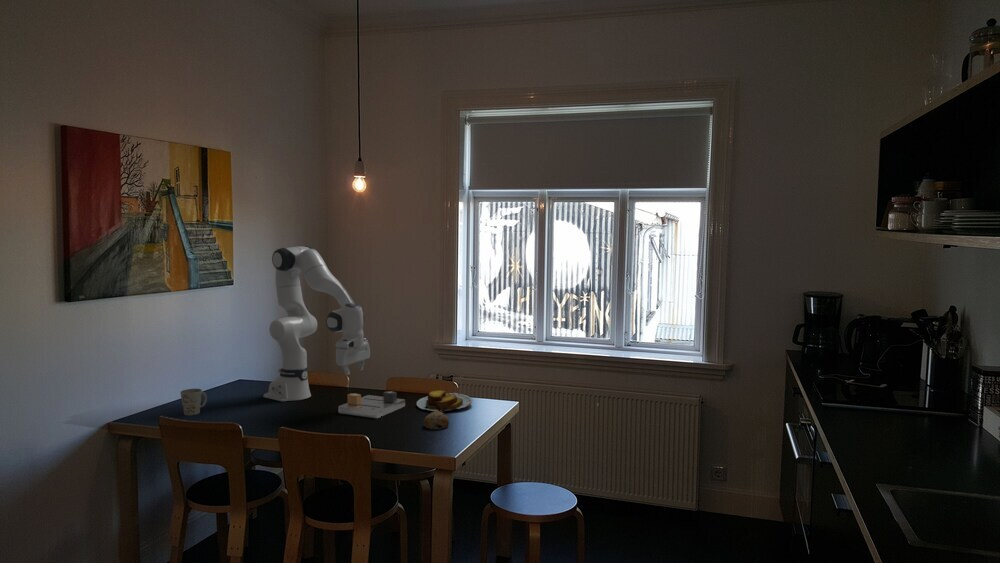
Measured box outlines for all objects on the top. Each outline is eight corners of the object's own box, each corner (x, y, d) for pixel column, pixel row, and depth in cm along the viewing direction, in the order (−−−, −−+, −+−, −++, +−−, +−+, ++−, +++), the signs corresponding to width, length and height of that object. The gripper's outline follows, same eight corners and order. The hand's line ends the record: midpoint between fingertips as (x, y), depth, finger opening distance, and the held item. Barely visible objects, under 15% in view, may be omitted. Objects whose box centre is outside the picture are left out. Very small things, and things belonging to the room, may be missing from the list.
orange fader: (347, 403, 291) (347, 394, 291) (351, 402, 294) (351, 393, 294) (356, 405, 289) (356, 395, 289) (361, 403, 292) (361, 394, 292)
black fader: (383, 401, 295) (383, 392, 295) (387, 399, 298) (387, 390, 298) (392, 402, 293) (392, 393, 293) (396, 401, 296) (396, 392, 296)
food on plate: (481, 410, 295) (481, 395, 294) (428, 417, 283) (428, 402, 283) (458, 396, 317) (458, 383, 317) (409, 403, 306) (408, 389, 306)
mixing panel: (338, 413, 288) (338, 406, 288) (368, 401, 308) (368, 394, 308) (376, 418, 280) (376, 411, 279) (405, 406, 300) (405, 399, 299)
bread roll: (426, 438, 265) (429, 423, 261) (419, 421, 273) (422, 406, 269) (450, 435, 269) (452, 420, 265) (442, 419, 277) (445, 404, 273)
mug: (176, 415, 284) (175, 392, 283) (199, 407, 296) (198, 385, 295) (191, 417, 281) (191, 393, 280) (214, 409, 293) (213, 387, 292)
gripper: (361, 337, 300) (362, 367, 301) (332, 343, 281) (333, 376, 282) (373, 337, 298) (373, 368, 299) (345, 344, 279) (345, 377, 280)
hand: (354, 372), depth 290 cm, fingers open, 8 cm apart
